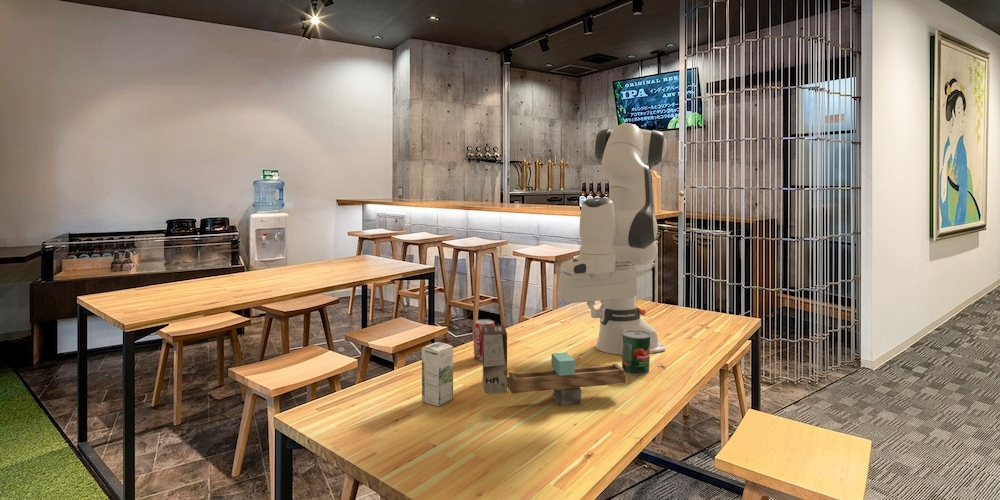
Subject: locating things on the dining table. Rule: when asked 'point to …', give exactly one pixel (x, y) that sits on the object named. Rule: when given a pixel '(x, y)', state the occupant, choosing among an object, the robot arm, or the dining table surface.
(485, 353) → the coffee box
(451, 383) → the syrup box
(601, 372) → the beam
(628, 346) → the canned tomato
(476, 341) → the soda can
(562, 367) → the block
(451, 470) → the dining table surface
